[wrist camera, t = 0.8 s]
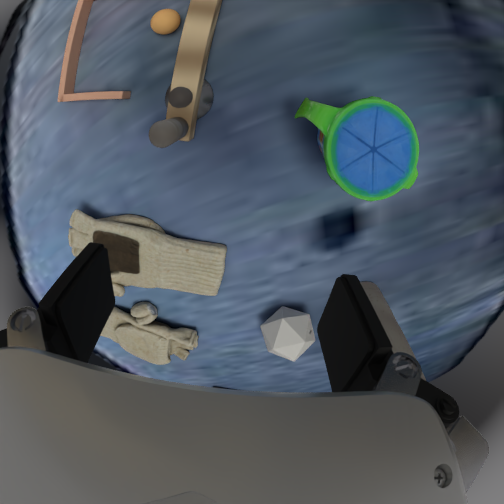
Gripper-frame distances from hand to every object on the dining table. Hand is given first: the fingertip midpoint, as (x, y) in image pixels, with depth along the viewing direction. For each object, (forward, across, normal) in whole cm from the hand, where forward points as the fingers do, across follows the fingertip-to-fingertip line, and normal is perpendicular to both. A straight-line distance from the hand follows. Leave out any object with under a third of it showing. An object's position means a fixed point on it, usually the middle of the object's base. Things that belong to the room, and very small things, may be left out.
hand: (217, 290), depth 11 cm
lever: (+25, +7, -12) cm, 29 cm away
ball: (+26, +11, -17) cm, 33 cm away
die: (+27, -12, +25) cm, 39 cm away
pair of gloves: (+27, +14, +24) cm, 39 cm away
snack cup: (+26, -13, -6) cm, 30 cm away
